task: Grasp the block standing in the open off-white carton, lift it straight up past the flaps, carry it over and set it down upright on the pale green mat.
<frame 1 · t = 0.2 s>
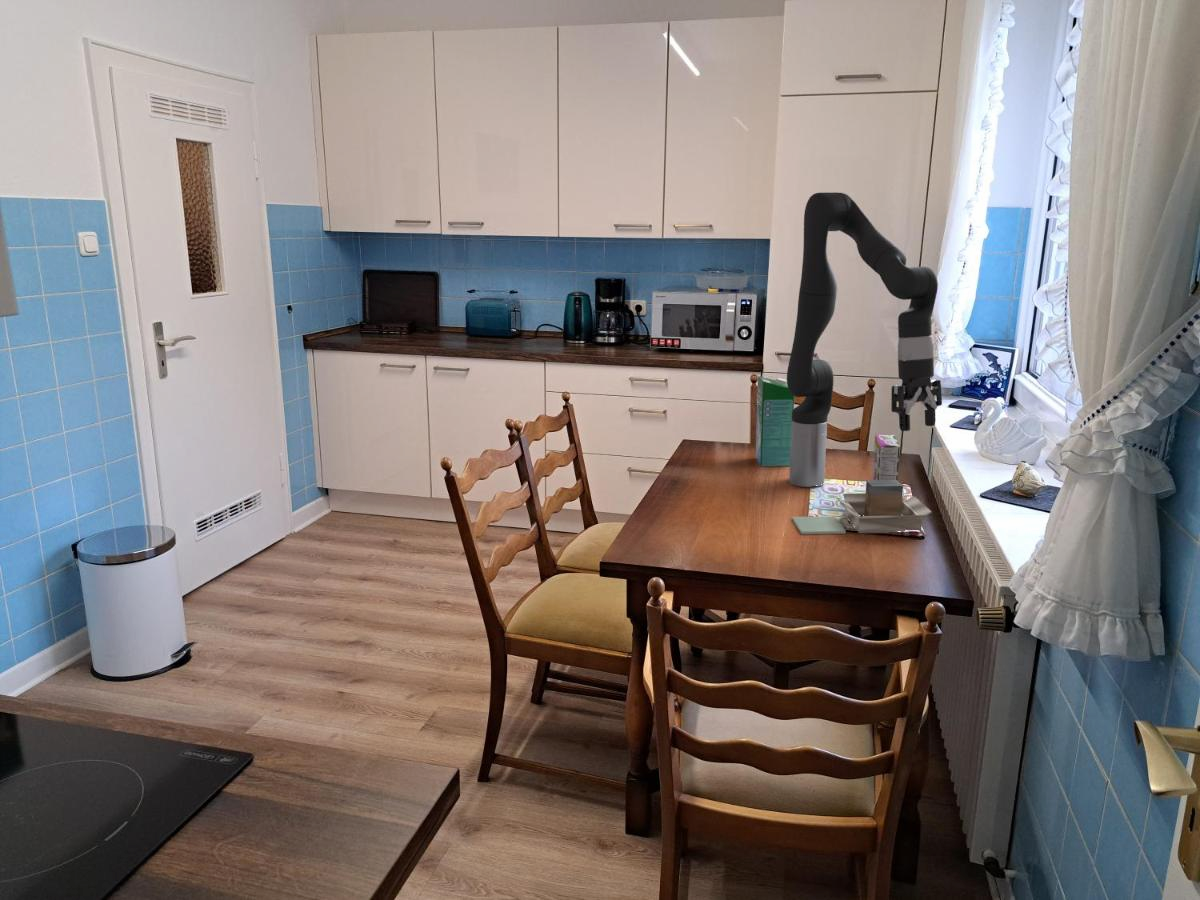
hand: (917, 428, 194), 22 cm above the table, tool pointing down, fingers open, 8 cm apart
mat: (818, 526, 198), on the table
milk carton: (773, 462, 251), on the table
block: (881, 524, 199), resting in carton
candy bar box: (882, 503, 213), on the table
carton: (881, 523, 199), on the table
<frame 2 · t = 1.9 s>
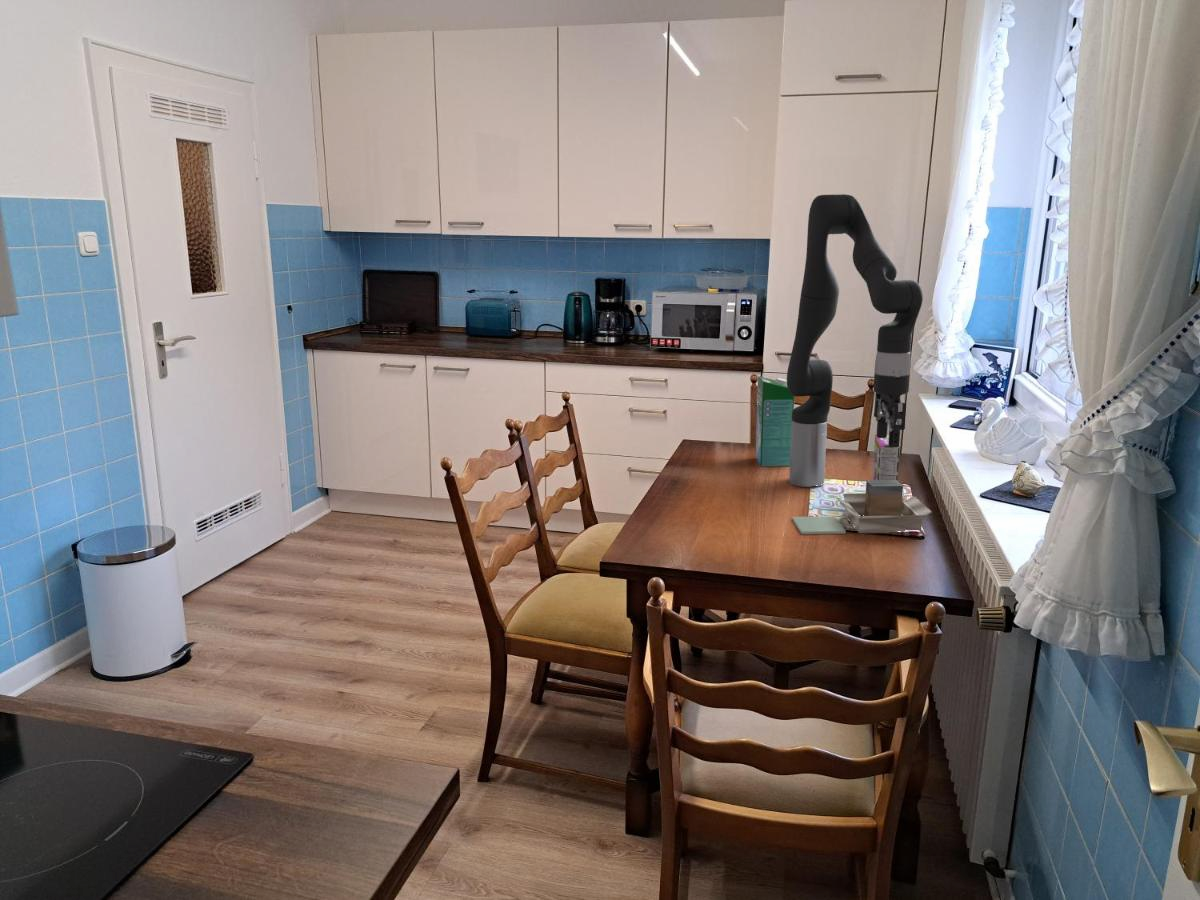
hand: (887, 442, 194), 20 cm above the table, tool pointing down, fingers open, 8 cm apart
nothing on the table moved.
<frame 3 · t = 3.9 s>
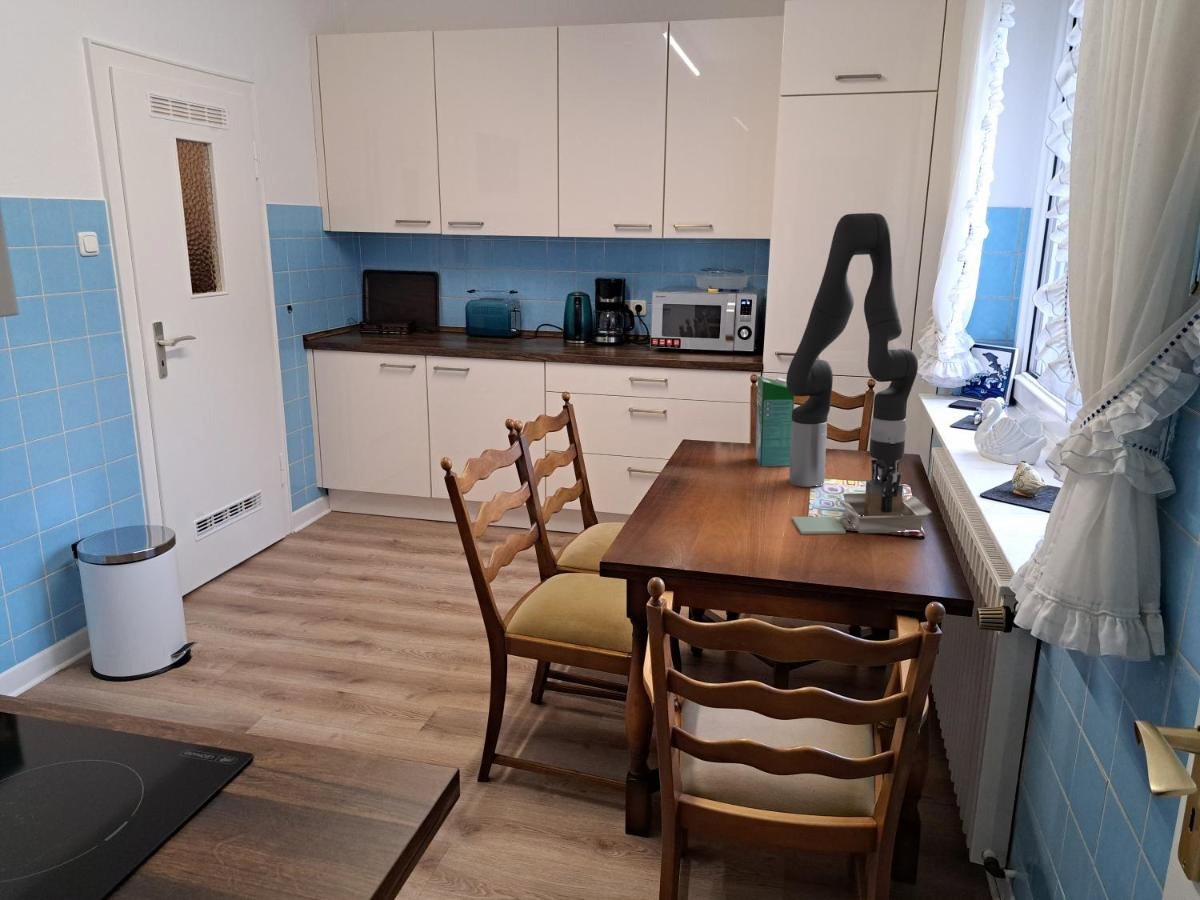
hand: (882, 508, 198), 4 cm above the table, tool pointing down, fingers closed on block, 4 cm apart
block: (881, 523, 199), resting in carton, touching gripper
everything else where it was.
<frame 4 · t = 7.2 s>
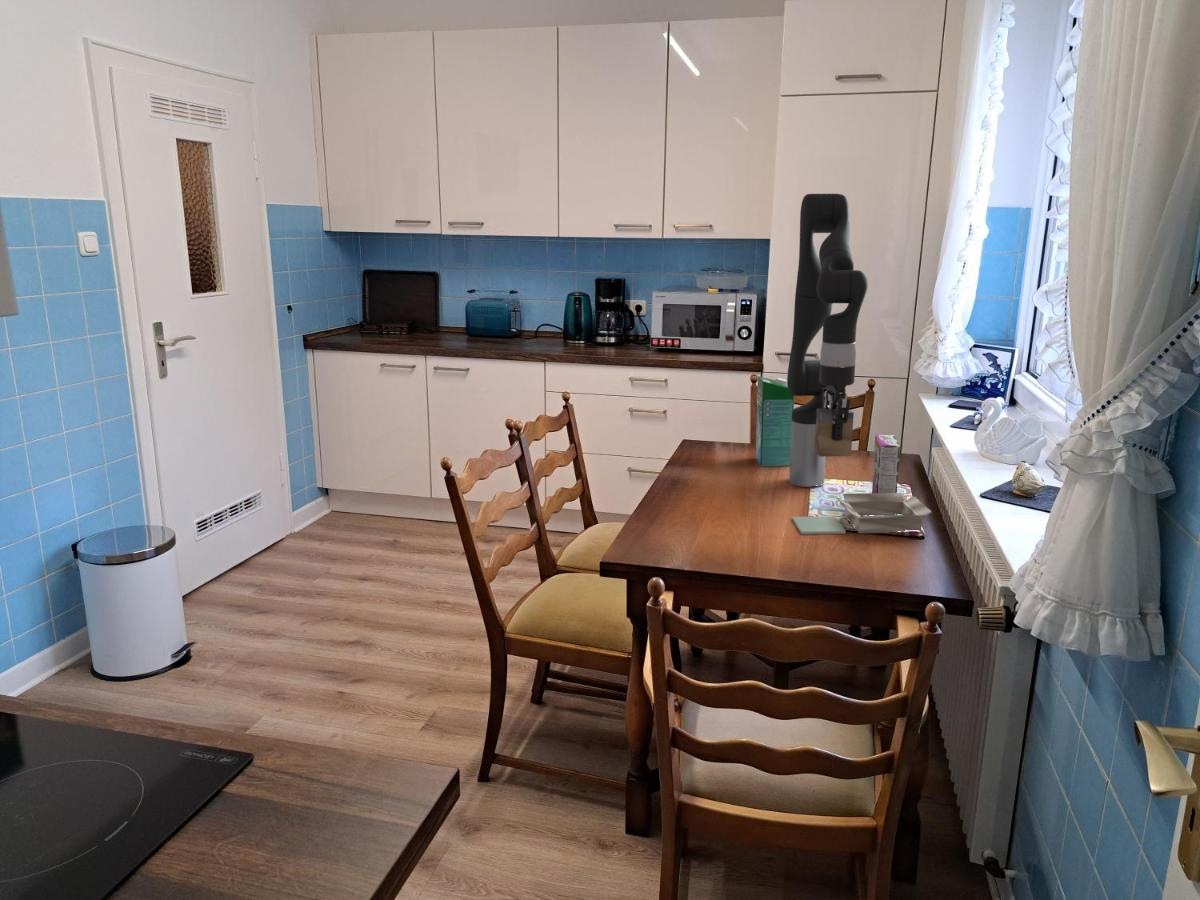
hand: (833, 437, 193), 21 cm above the table, tool pointing down, fingers closed on block, 4 cm apart
block: (832, 453, 194), point 17 cm above the table, touching gripper
everything else where it was.
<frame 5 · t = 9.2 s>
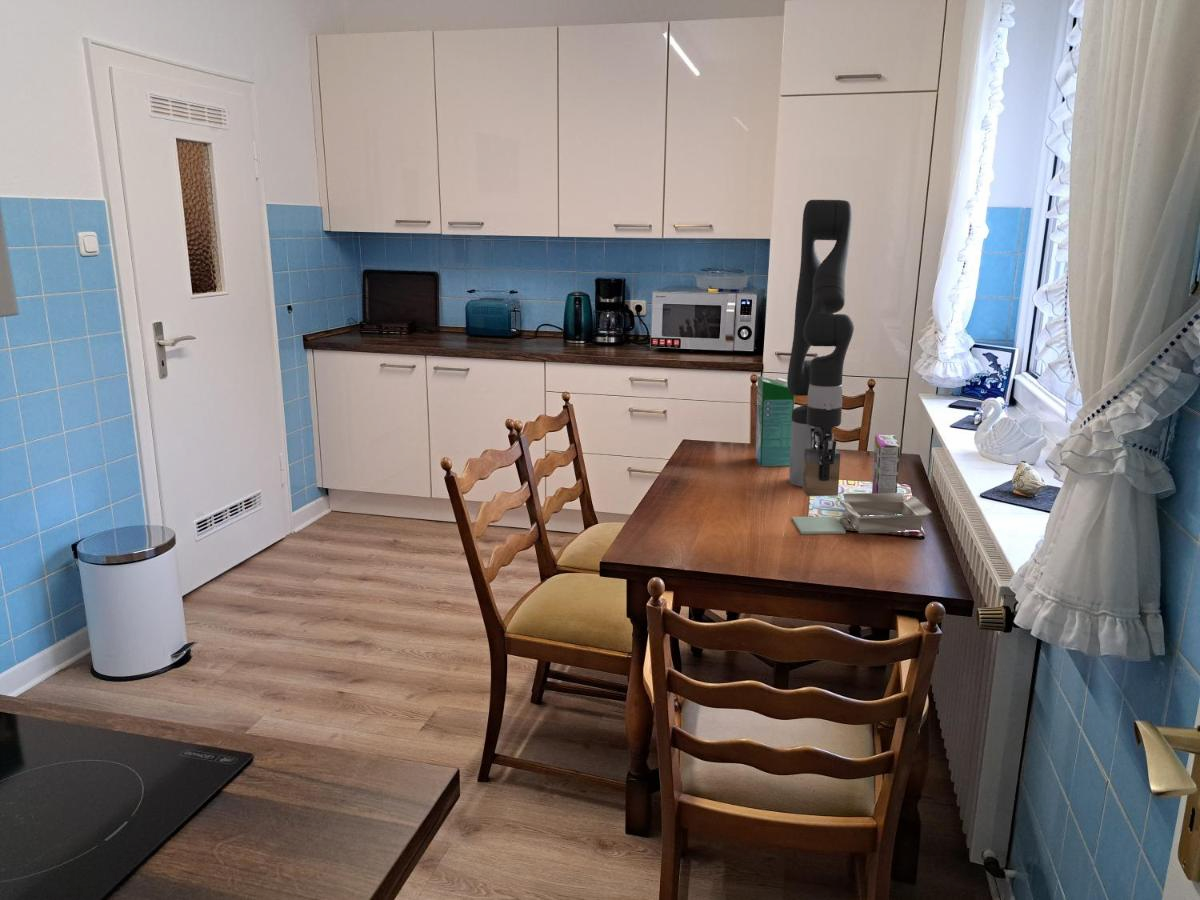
hand: (820, 476, 195), 12 cm above the table, tool pointing down, fingers closed on block, 4 cm apart
block: (820, 493, 196), point 8 cm above the table, touching gripper
everything else where it was.
when the fingers open (6 cm above the table, at t = 10.8 s): block drops 1 cm, resting on mat.
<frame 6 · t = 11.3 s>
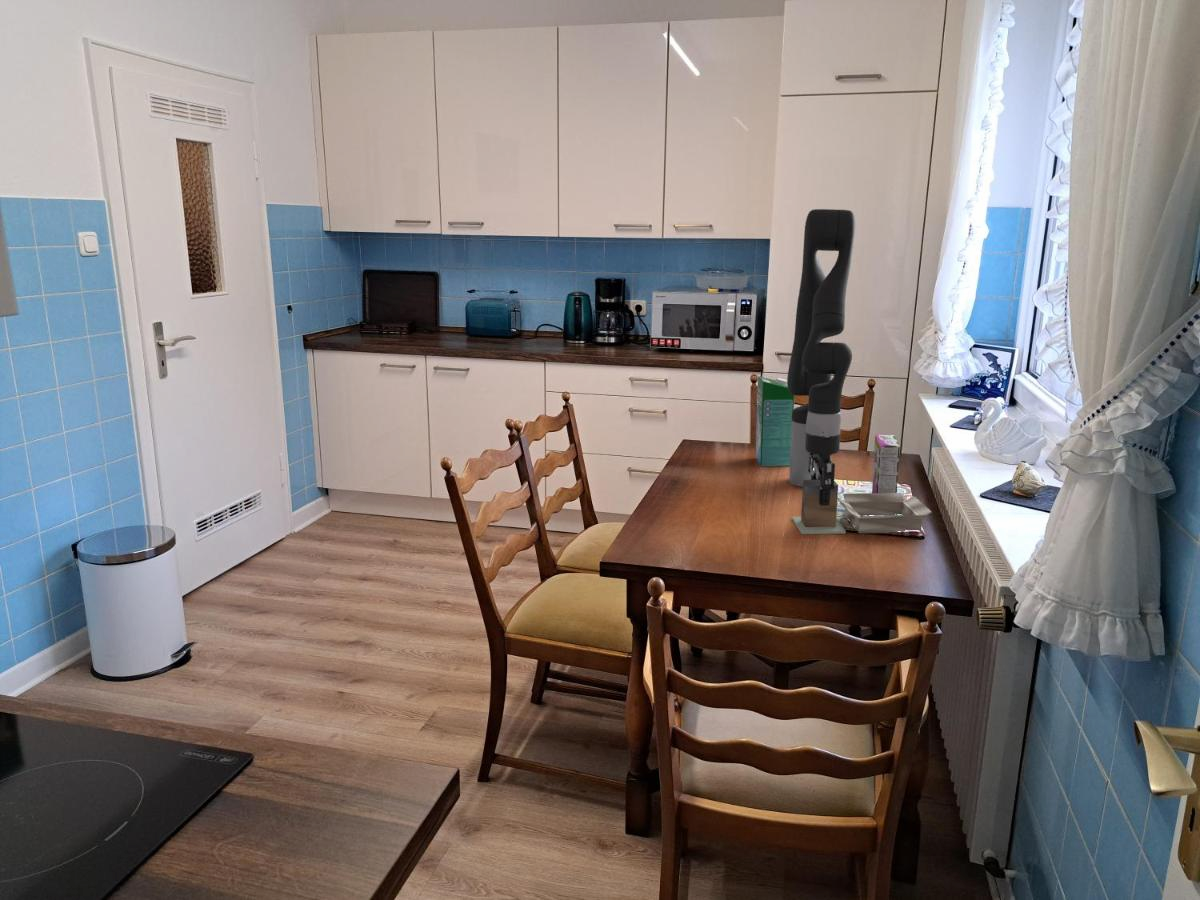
hand: (819, 499, 196), 7 cm above the table, tool pointing down, fingers open, 8 cm apart
block: (818, 523, 198), point 1 cm above the table, touching mat
everything else where it was.
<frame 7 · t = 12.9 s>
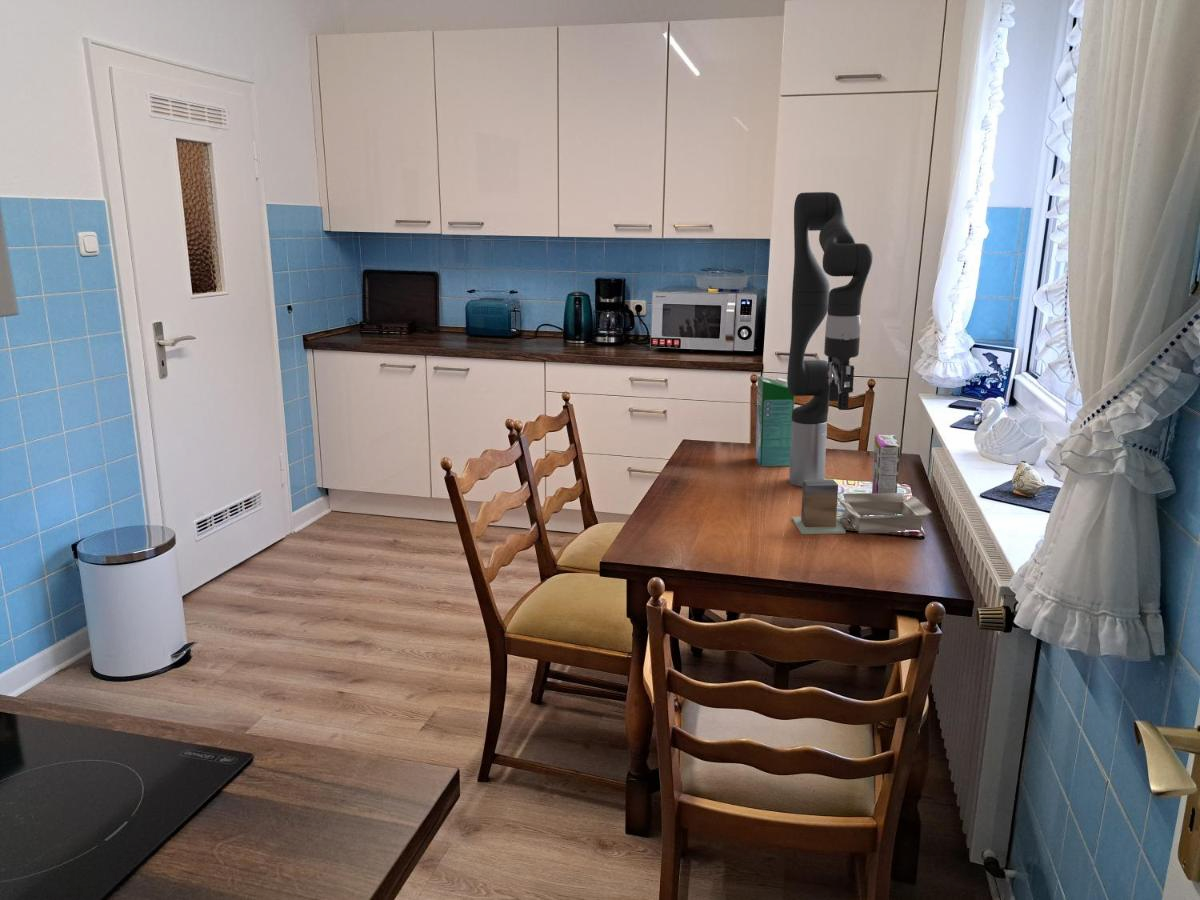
hand: (837, 405, 196), 28 cm above the table, tool pointing down, fingers open, 8 cm apart
nothing on the table moved.
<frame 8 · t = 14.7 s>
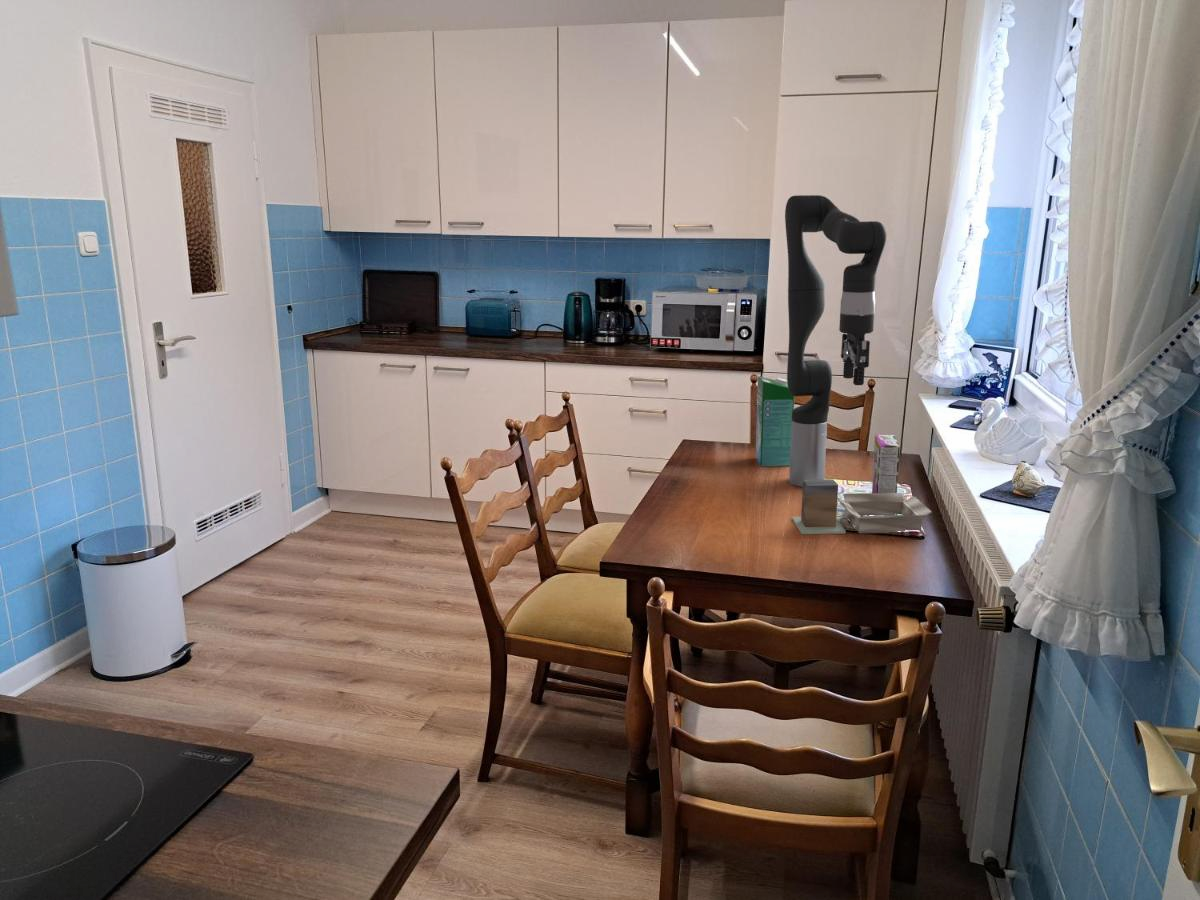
hand: (853, 381, 199), 32 cm above the table, tool pointing down, fingers open, 8 cm apart
nothing on the table moved.
at the end: block inside the target area (0.1 cm from its centre), point 0.6 cm above the table; block tilted 0°; the gripper is holding nothing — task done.
